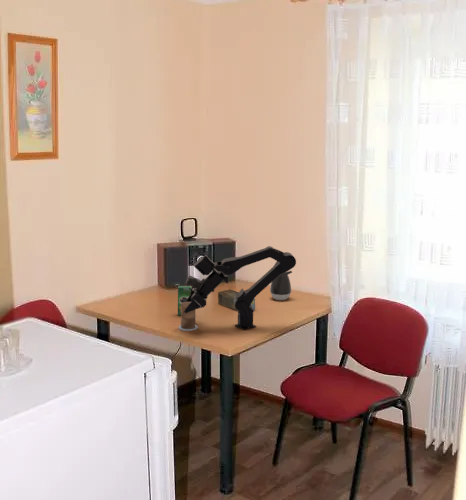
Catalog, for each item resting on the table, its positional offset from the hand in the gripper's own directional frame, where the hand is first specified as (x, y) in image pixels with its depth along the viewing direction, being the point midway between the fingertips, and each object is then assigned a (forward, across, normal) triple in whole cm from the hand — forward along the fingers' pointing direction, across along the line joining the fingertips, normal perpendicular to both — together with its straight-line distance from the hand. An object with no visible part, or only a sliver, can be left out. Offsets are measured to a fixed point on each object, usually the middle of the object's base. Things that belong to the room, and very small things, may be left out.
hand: (184, 308), depth 259 cm
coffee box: (+5, -18, +7) cm, 20 cm away
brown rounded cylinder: (+4, 0, +6) cm, 8 cm away
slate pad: (+5, 0, +7) cm, 8 cm away
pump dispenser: (-27, -41, +39) cm, 63 cm away
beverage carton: (-11, -29, +23) cm, 39 cm away
